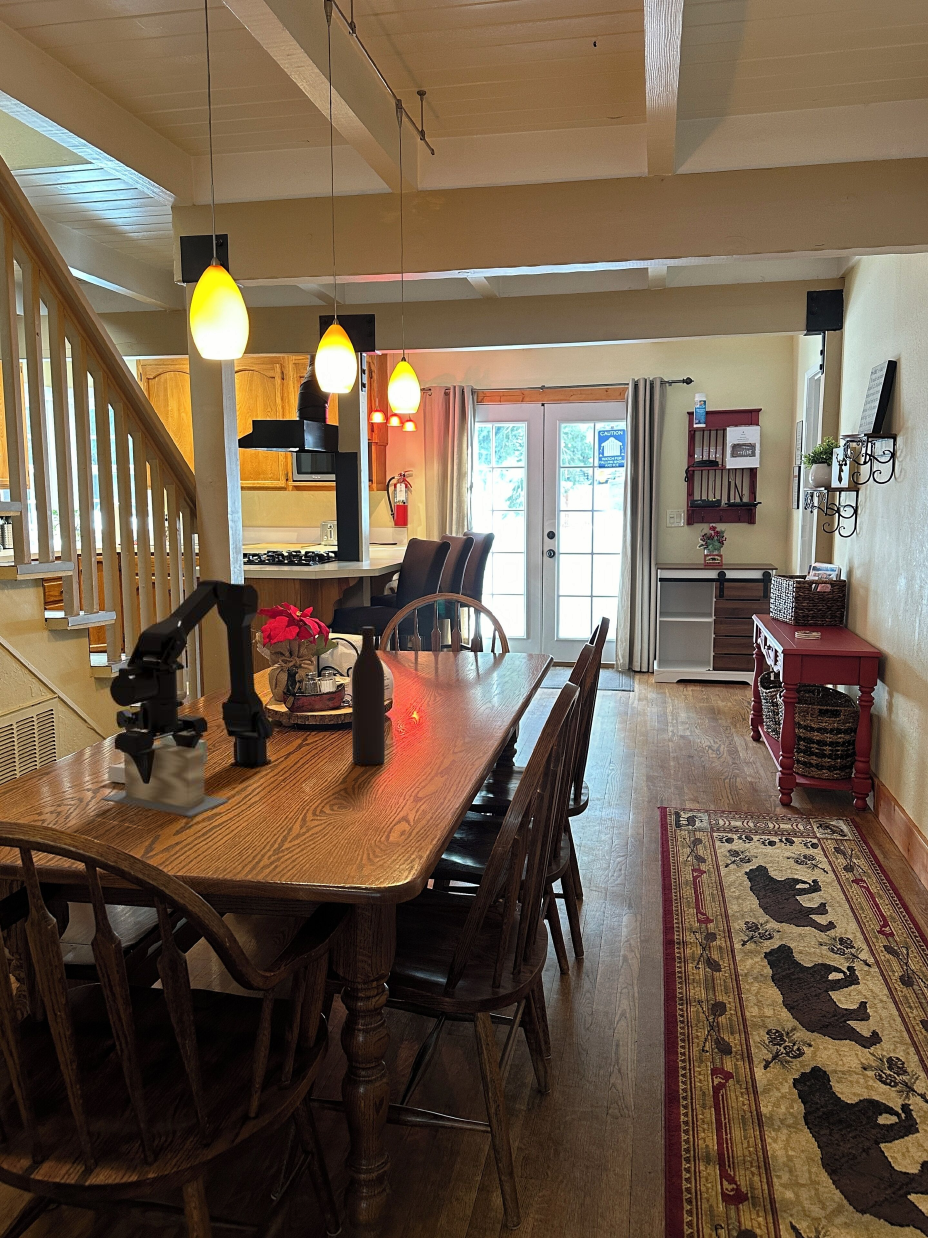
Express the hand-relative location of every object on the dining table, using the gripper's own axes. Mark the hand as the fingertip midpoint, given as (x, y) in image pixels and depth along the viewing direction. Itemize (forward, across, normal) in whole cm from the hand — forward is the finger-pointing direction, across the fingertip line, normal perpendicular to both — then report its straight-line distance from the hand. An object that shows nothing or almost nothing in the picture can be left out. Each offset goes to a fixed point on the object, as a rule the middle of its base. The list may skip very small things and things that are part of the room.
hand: (164, 777), depth 175 cm
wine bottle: (+5, -41, +20) cm, 46 cm away
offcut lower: (+4, -6, -13) cm, 15 cm away
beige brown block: (+4, 0, 0) cm, 4 cm away
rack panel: (+5, -24, -17) cm, 29 cm away
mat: (+5, 0, 0) cm, 5 cm away
